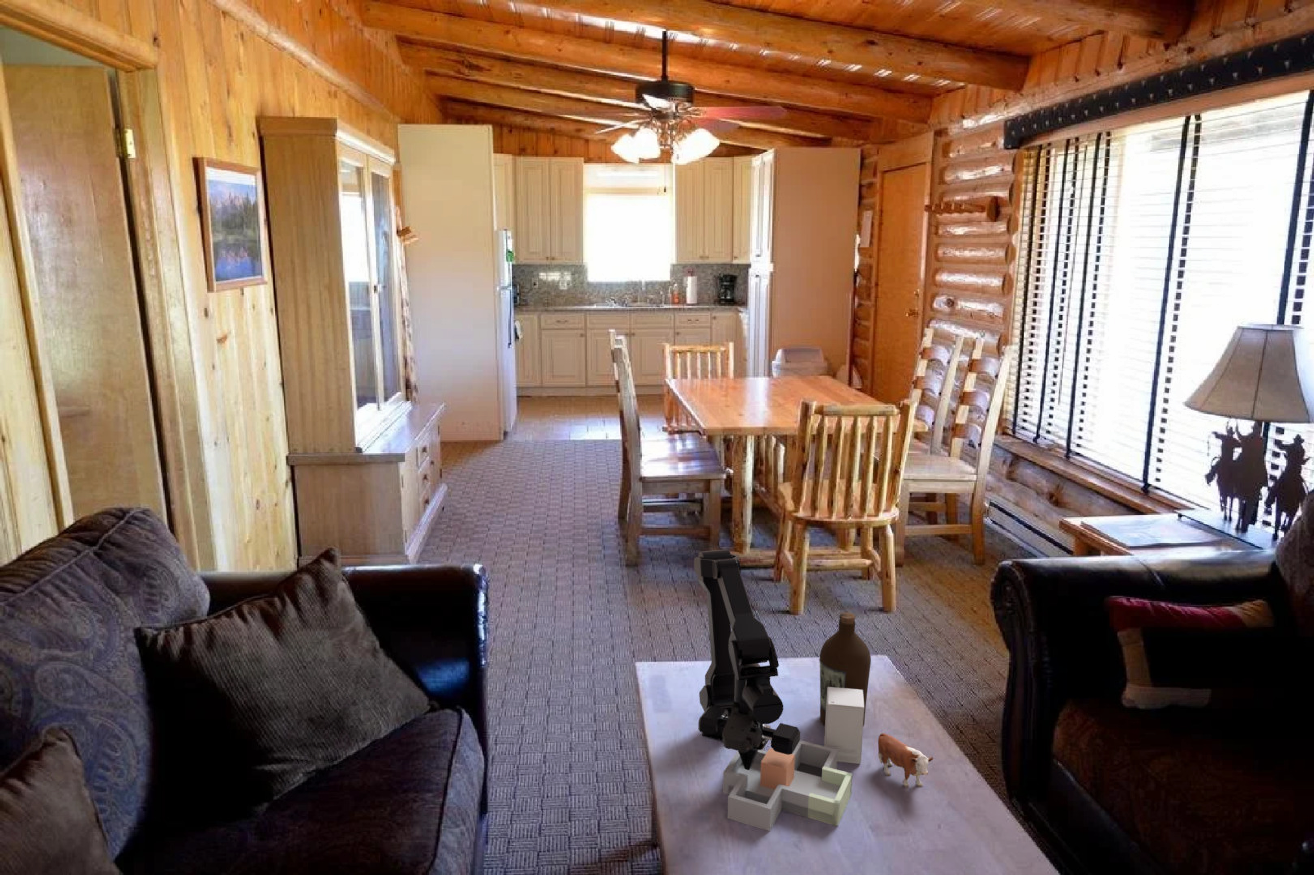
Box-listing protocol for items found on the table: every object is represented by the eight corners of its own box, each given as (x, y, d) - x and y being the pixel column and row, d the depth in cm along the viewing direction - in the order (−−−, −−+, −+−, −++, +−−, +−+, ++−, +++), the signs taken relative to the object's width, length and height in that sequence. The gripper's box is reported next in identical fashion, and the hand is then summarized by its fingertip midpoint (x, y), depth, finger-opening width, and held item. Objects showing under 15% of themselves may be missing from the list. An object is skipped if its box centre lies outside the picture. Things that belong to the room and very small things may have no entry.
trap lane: (709, 813, 160) (710, 791, 159) (752, 747, 180) (753, 728, 179) (827, 849, 150) (829, 826, 149) (859, 775, 170) (860, 755, 169)
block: (760, 785, 164) (760, 761, 163) (768, 771, 169) (769, 748, 168) (785, 792, 162) (786, 768, 161) (793, 778, 167) (794, 754, 165)
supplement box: (861, 764, 174) (864, 707, 171) (823, 760, 175) (826, 703, 173) (860, 744, 181) (863, 688, 178) (824, 740, 183) (826, 685, 180)
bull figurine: (920, 802, 162) (923, 764, 161) (871, 764, 174) (873, 728, 172) (937, 796, 164) (940, 757, 163) (888, 758, 176) (890, 722, 174)
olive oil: (840, 704, 196) (845, 600, 191) (877, 725, 188) (884, 617, 182) (806, 719, 190) (811, 613, 185) (843, 741, 182) (849, 631, 176)
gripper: (686, 704, 161) (686, 779, 165) (783, 728, 153) (781, 806, 157) (710, 677, 171) (709, 748, 174) (802, 698, 163) (799, 772, 167)
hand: (747, 768), depth 168 cm, fingers closed
